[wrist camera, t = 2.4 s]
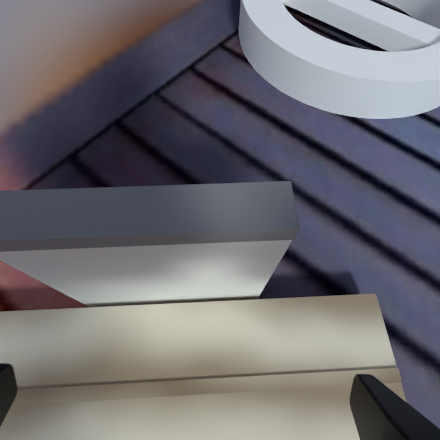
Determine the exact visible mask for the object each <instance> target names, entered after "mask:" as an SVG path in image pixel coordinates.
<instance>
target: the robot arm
mask: <svg viewBox="0 0 440 440" xmlns="http://www.w3.org/2000/svg"><path fill="white" fill-rule="evenodd" d="M17 390H18V387H17V382H16V377H15V373H14V368H13V366H12V365H11V364H9V363H0V427H1V425H2V423H3V421H4V419H5V417H6V415H7V413H8V412H9V410H10V408H11V406H12V404H13V402H14V400H15V398H16V395H17ZM350 408H351V411H352V415H353V418H354V421H355V425H356V428H357V431H358V435H359V438H360V440H440V429H439V428H438V427H437V426H435V425H434V424H433V423H432V422H430V421H429V420H428V419H427V418H425V417H424V416H423V415H422V414H420V413H419V412H418V411H417V410H415V409H414V408H413V407H412V406H410V405H409V404H408V403H407V402H405V401H404V400H403V399H402V398H400V397H399V396H398V395H397V394H395V393H394V392H393V391H392V390H391V389H389V388H388V387H387V386H386V385H384V384H383V383H382V382H381V381H379V380H378V379H377V378H376V377H374V376H373V375H370V374H356V375H355V376H354V378H353V383H352V388H351V393H350Z"/></svg>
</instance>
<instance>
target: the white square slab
mask: <svg viewBox="0 0 440 440" xmlns="http://www.w3.org/2000/svg"><path fill="white" fill-rule="evenodd" d="M299 230H300V227H299V222H298V217H297V211H296V206H295V201H294V195H293V190H292V185H291V181H281V182H252V183H222V184H192V185H162V186H132V187H102V188H72V189H42V190H12V191H0V261H2V262H4V263H6V264H8V265H9V266H11V267H13V268H15V269H17V270H19V271H21V272H23V273H25V274H27V275H29V276H31V277H33V278H35V279H36V280H38V281H40V282H42V283H44V284H46V285H48V286H50V287H52V288H54V289H56V290H58V291H60V292H62V293H63V294H65V295H67V296H69V297H71V298H73V299H75V300H77V301H79V302H81V303H83V304H85V305H87V306H89V307H108V306H129V305H149V304H170V303H191V302H212V301H233V300H254V299H258V298H259V296H260V294H261V292H262V291H263V289H264V287H265V286H266V284H267V282H268V281H269V279H270V277H271V275H272V274H273V272H274V270H275V269H276V267H277V265H278V264H279V262H280V260H281V258H282V257H283V255H284V253H285V252H286V250H287V248H288V247H289V245H290V243H291V241H292V240H294V238H295V236H296V235H297V233H298V231H299Z"/></svg>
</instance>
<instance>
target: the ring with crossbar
mask: <svg viewBox="0 0 440 440" xmlns="http://www.w3.org/2000/svg"><path fill="white" fill-rule="evenodd" d="M382 1H385V2H387V3H389V4H392V5H394V6H396V7H398V8H399V9H401V10H403V11H404V12H406V13H407V14H409V15H410V16H412V17H413V18H411V17H409V16H406V15H404V14H401V13H399V12H397V11H394V10H392V9H389V8H387V7H384V6H382V5H379V4H377V3H375V2H372V1H370V0H241V3H240V17H239V40H240V44H241V47H242V50H243V52H244V54H245V56H246V58H247V59H248V61H249V62H250V64H251V65H252V66H253V68H254V69H255V70H256V71H257V72H258V73H259V74H260V75H261V76H262V77H263V78H264V79H265V80H266V81H268V82H269V83H270V84H271V85H273V86H274V87H276V88H277V89H279V90H280V91H282V92H283V93H285V94H287V95H288V96H290V97H292V98H294V99H296V100H298V101H301V102H303V103H305V104H308V105H310V106H313V107H315V108H318V109H321V110H325V111H328V112H332V113H336V114H340V115H346V116H352V117H359V118H373V119H389V118H400V117H407V116H412V115H417V114H421V113H424V112H427V111H430V110H432V109H435V108H437V107H439V106H440V0H382ZM286 5H287V6H290V7H292V8H294V9H296V10H298V11H301V12H303V13H305V14H307V15H309V16H312V17H314V18H316V19H318V20H321V21H323V22H325V23H327V24H329V25H332V26H334V27H336V28H338V29H340V30H343V31H345V32H347V33H349V34H351V35H354V36H356V37H358V38H360V39H362V40H365V41H367V42H369V43H371V44H374V45H376V46H378V47H380V48H382V49H385V50H387V51H389V52H385V51H373V50H366V49H360V48H355V47H351V46H347V45H344V44H340V43H337V42H334V41H332V40H329V39H327V38H325V37H322V36H320V35H318V34H316V33H314V32H313V31H311V30H309V29H308V28H306V27H305V26H303V25H302V24H301V23H299V22H298V21H297V20H296V19H295V18H294V17H293V16H292V15H291V14H290V13H289V12H288V11H287V9H286V8H285V6H286Z"/></svg>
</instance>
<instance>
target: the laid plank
mask: <svg viewBox="0 0 440 440" xmlns="http://www.w3.org/2000/svg"><path fill="white" fill-rule="evenodd" d="M0 363H9V364H11V365H12V366H13V368H14V373H15V377H16V382H17V387H18V390H17V395H16V398H15V400H14V402H13V404H12V406H11V408H10V410H9V412H8V413H7V415H6V417H5V419H4V421H3V423H2V425H1V427H0V440H360V438H359V435H358V431H357V428H356V425H355V421H354V418H353V415H352V411H351V408H350V393H351V388H352V383H353V378H354V376H355V375H356V374H370V375H373V376H374V377H376V378H377V379H378V380H379V381H381V382H382V383H383V384H384V385H386V386H387V387H388V388H389V389H391V390H392V391H393V392H394V393H395V394H397V395H398V396H399V397H400V398H402V399H403V400H404V401H405V402H406V398H405V395H404V391H403V388H402V384H401V383H402V379H401V376H400V372H399V369H398V368H397V366H396V363H395V359H394V356H393V352H392V349H391V345H390V342H389V338H388V335H387V331H386V328H385V324H384V321H383V317H382V314H381V310H380V306H379V303H378V299H377V296H376V294H358V295H337V296H316V297H295V298H275V299H254V300H233V301H212V302H191V303H170V304H149V305H129V306H108V307H87V308H66V309H45V310H24V311H3V312H0Z"/></svg>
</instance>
